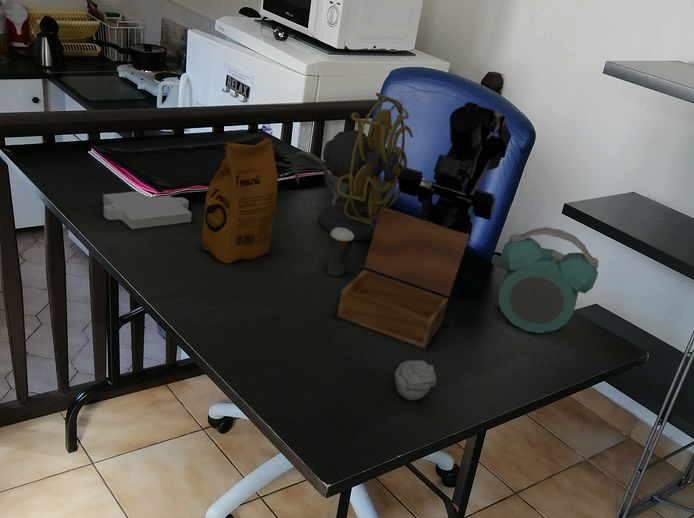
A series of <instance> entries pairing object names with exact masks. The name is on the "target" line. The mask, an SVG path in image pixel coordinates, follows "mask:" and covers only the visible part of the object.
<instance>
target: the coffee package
mask: <svg viewBox="0 0 694 518" xmlns="http://www.w3.org/2000/svg"><path fill="white" fill-rule="evenodd" d="M222 148H223V150H225V155H226V156H225V157H224V158H223V160H222V162H221V164H220V167H219V169H218V171H217V172H216V173H215V174H214V176H213V177H212V179H211V182H210V183H209V185H208V188H207V192H206V195H205V204H204V205H205V206H204V214H203V215H204V216H203V217H204V218H203V224H202V225H203V226H202V232H201V239H200V241H201V243H202V248H203V249H204V251H207V252H209V253H210V254H211V255H212V256H214V258H215V259H216V260H218V261H219V262H222V263H224V264H232V263H234V262H237V261H240V260H246V261H251V260H256V259H258V258H259V257H261V256H264V255H267V254H269V252H270V247H271V241H272V239H271V238H272V233H273V227H274V222H275V216H276V210H277V209H276V208H277V198H278V182H279V181H278V178H279V177H278V176H279V175H278V170H277V163H276V159H275V151H274V146H273V141H272V139H271V138H265V139H263V140H261V141H259V142H257V143H256V144H254V145H252V144H244V143H243V144H241V143H236V142H232V143H231V142H227V141H225V143H224V144H223V146H222Z"/></svg>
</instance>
